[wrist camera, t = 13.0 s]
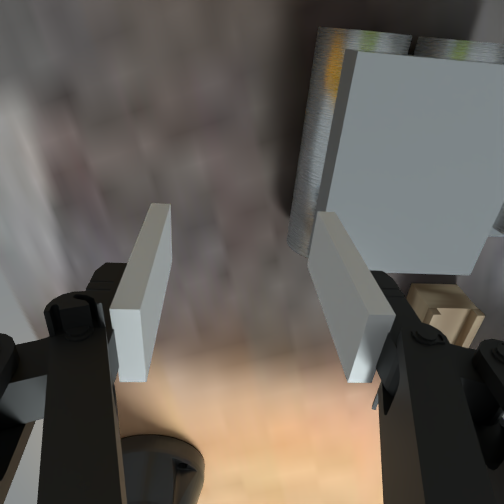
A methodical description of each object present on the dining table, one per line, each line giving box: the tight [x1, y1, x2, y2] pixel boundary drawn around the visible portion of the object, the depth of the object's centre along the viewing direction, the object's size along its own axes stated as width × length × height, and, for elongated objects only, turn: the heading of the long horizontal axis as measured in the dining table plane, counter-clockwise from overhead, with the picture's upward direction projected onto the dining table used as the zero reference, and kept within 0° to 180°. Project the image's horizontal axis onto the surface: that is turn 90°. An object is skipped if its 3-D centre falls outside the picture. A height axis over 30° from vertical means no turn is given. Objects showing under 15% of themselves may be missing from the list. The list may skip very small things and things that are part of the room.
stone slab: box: [308, 49, 504, 275], centre depth 25 cm, size 12×14×2 cm
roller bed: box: [287, 27, 504, 259], centre depth 29 cm, size 13×16×6 cm
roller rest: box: [406, 283, 485, 348], centre depth 39 cm, size 5×6×5 cm
